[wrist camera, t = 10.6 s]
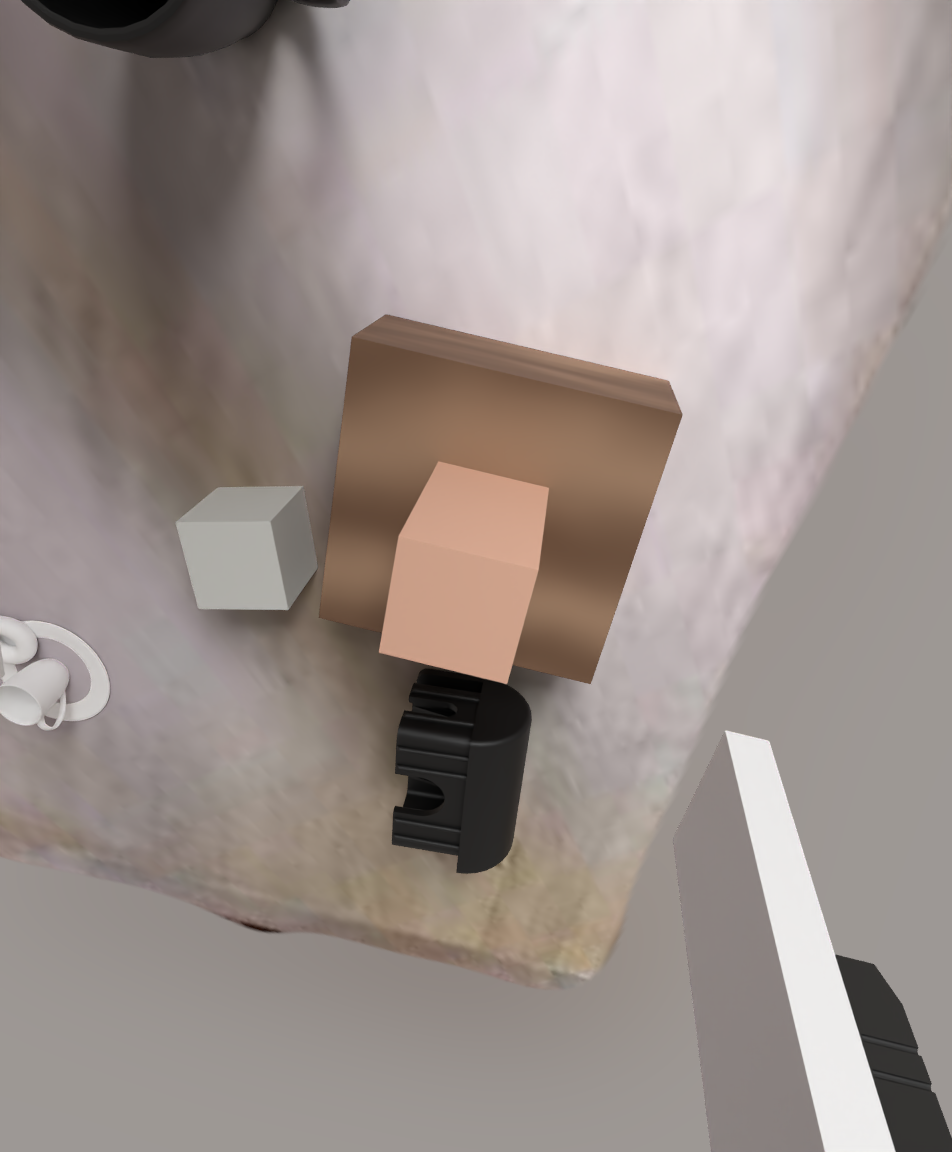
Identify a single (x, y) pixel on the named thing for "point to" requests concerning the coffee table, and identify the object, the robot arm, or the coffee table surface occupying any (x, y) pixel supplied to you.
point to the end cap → (461, 767)
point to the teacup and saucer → (45, 676)
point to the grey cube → (248, 547)
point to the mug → (162, 22)
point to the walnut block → (498, 471)
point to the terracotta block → (465, 572)
